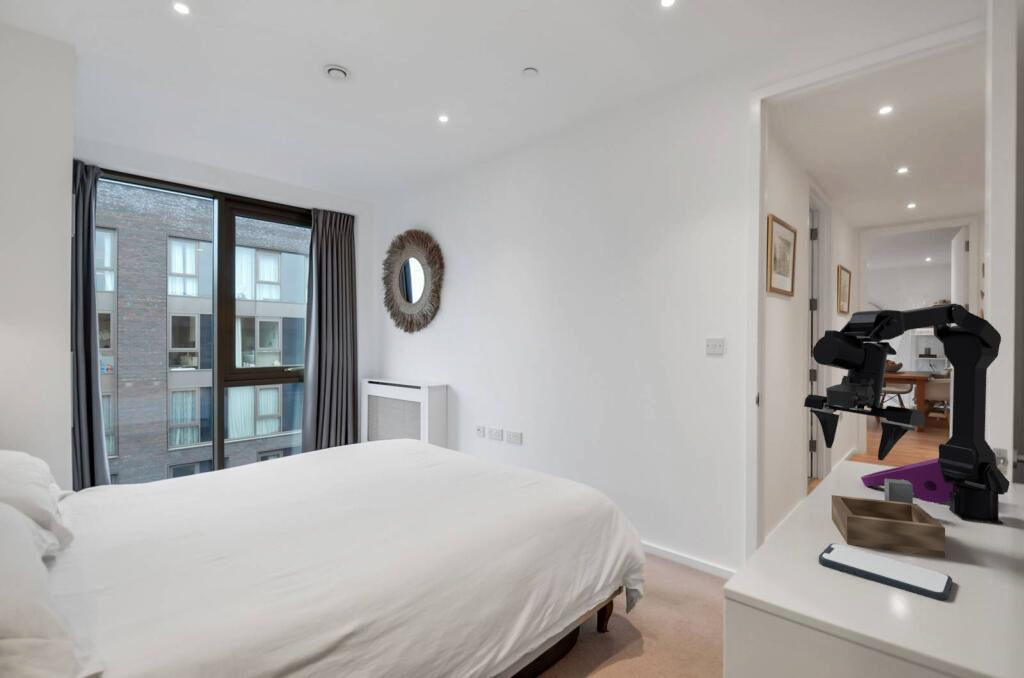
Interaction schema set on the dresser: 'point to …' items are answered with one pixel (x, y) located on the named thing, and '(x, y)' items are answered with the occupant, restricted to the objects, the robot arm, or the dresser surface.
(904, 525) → the open wooden box
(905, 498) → the grey block
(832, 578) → the dresser surface
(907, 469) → the mounting bracket
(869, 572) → the phone case
